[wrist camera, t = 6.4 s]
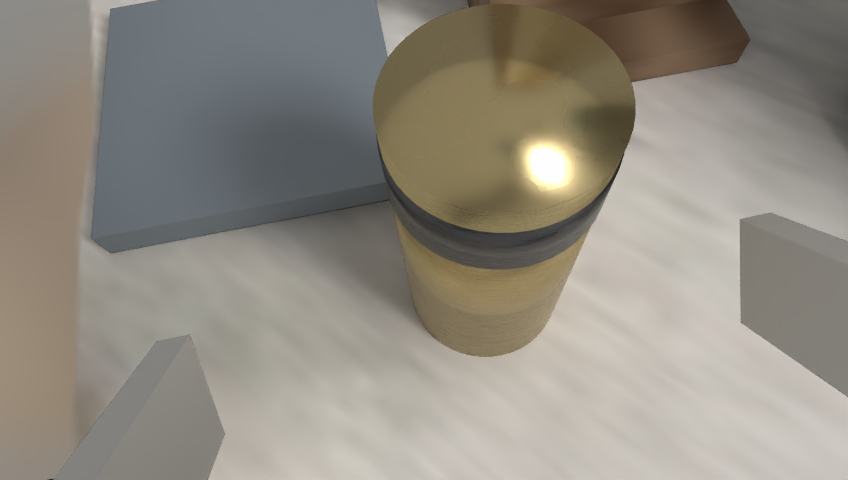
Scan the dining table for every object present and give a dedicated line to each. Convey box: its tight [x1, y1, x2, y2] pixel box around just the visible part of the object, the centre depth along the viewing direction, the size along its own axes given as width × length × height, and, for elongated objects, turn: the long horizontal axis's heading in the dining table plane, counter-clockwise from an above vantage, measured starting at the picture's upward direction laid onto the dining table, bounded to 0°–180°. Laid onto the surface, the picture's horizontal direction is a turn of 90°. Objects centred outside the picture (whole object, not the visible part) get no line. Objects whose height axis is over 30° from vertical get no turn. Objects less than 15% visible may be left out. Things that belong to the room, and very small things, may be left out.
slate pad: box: [91, 0, 390, 253], centre depth 28 cm, size 14×14×2 cm
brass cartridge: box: [373, 4, 635, 357], centre depth 18 cm, size 6×6×12 cm
